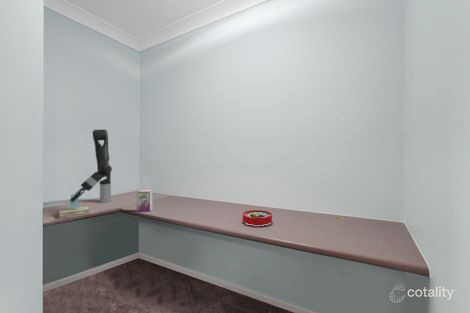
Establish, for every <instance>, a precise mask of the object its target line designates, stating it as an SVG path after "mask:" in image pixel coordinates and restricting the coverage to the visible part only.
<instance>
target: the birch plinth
mask: <svg viewBox="0 0 470 313" xmlns="http://www.w3.org/2000/svg"><path fill="white" fill-rule="evenodd" d="M88 215H90V209H89V206H88V205H84V206H78V208H72V209H71V207H68V208H60V209H59V219H60V218H61V219H68V218H74V217H80V216H81V217H82V216H88Z"/></svg>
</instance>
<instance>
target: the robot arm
mask: <svg viewBox="0 0 470 313" xmlns="http://www.w3.org/2000/svg"><path fill="white" fill-rule="evenodd" d="M108 133H109V132H108V131H107V130H106V129H93V130H92V138H93V143H94V150H95V159H96V165H97V171H95V172H94V173H93V174H91V175H90V176H89V177H88V178H86V179H85V180H84V181H83V182H82V183H81V184H80V186H81V188H79V189H78V190H77V191H76V192H75V193H74V194H76V195H75V196H74V197H73V198H72V199H71V198H70V203H71V202H73V201H74V200H75V199H77V198H78V199H79V198H80V197H81V196H83V194H84V193H86V192H85V191H88V192H89V191H91V190H92V189H93V188H94V187H95V186H96V185H97V184H98V183H99V202H100V203H110V202H111V201H112V199H111V198H112V197H111V196H112V193H111V191H112V190H111V189H112V187H111V186H112V182H111V175H112V174H111V173H112V170H113V168H112V166H111V165H110V162H109V161H110V154H109V135H108ZM99 141H103V144H101V143H100V142H99ZM103 178H104V179H103ZM102 179H103V180H102ZM77 195H78V196H77Z"/></svg>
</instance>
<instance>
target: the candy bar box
mask: <svg viewBox="0 0 470 313" xmlns="http://www.w3.org/2000/svg"><path fill="white" fill-rule="evenodd" d="M150 210H151V211H153V190H148V189H147V190H143V189H141V190H137V191H136V211H137V212H151V211H150Z"/></svg>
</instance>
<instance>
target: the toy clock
mask: <svg viewBox="0 0 470 313" xmlns="http://www.w3.org/2000/svg"><path fill="white" fill-rule="evenodd" d="M261 217H262V218H261ZM243 222H245V223H248V224H253V225H263V224H268V223H270V222H272V223H273V213H272V212H270V211H266V210H261V209H259V210H258V209H254V210H253V209H252V210H250V209H249V210H246V211H244V212H242V223H243Z"/></svg>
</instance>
